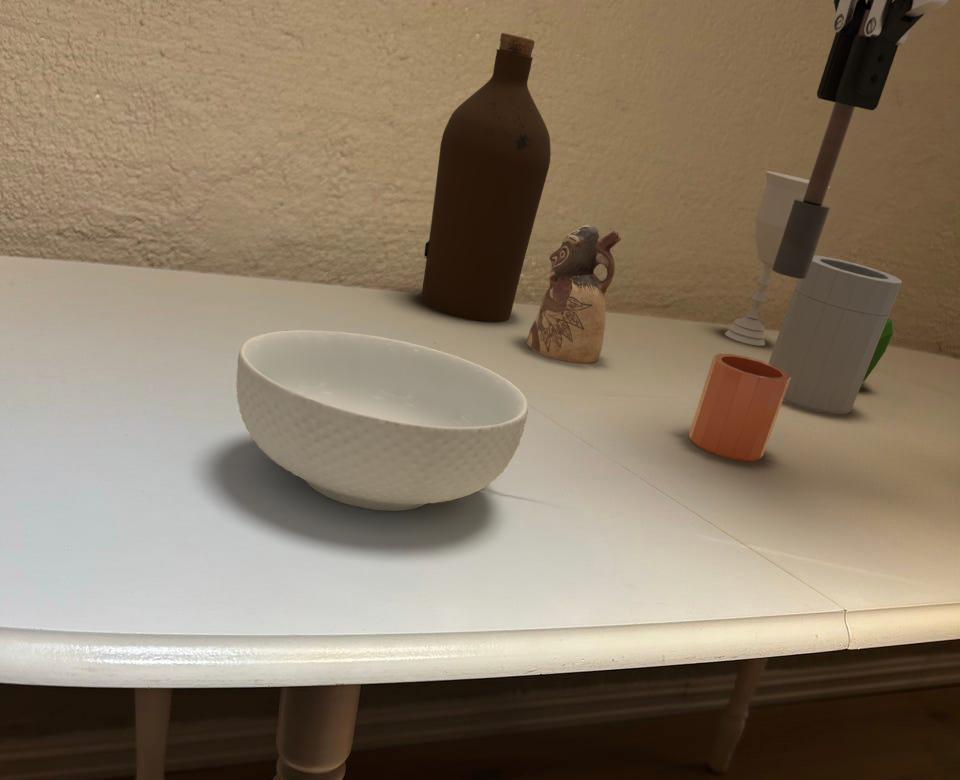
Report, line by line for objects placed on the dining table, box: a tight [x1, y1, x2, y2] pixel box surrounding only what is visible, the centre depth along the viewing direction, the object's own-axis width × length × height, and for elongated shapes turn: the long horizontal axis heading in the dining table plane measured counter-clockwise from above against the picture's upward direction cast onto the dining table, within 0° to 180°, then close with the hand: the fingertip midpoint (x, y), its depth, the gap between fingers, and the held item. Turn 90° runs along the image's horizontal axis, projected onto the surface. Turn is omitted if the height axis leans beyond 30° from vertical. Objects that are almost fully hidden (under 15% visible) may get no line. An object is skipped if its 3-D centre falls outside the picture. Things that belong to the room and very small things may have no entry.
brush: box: [772, 9, 870, 279], centre depth 73 cm, size 3×3×17 cm
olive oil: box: [420, 32, 552, 323], centre depth 102 cm, size 11×11×25 cm
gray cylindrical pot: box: [767, 254, 903, 415], centre depth 101 cm, size 9×9×13 cm
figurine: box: [526, 224, 622, 364], centre depth 97 cm, size 7×7×12 cm
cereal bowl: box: [236, 329, 529, 512], centre depth 62 cm, size 17×17×7 cm
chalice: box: [724, 170, 831, 347], centre depth 119 cm, size 7×7×18 cm
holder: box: [688, 353, 791, 462], centre depth 82 cm, size 6×6×7 cm
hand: (845, 102), depth 72 cm, fingers closed on brush, 1 cm apart
